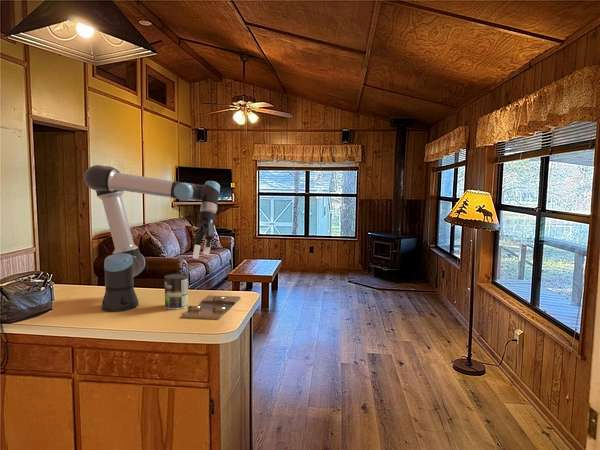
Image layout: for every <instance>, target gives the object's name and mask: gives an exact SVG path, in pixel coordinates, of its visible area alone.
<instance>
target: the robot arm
mask: <svg viewBox="0 0 600 450" xmlns="http://www.w3.org/2000/svg"><path fill="white" fill-rule="evenodd" d="M83 178H84V180H83V181H84V183H85V185H86V186H87V188H89V189H90V190H93V191H95V193H96V197H97V198H98V199H100V200H101V202H102V205H103V209H104V213H105V216H106V220H107V224H108V227H109V231H110V234H111V237H112V238H111V239H112V242H113V246H114V250H113V251H112V254H110V255H108V256H107V257H105V259H104V261H103V262H104V265H103V269H104V270H103V271H104V286H105V287H104V288H105V289H104V290H105V292H104V295H103V299H102V301H101V310H102V311H105V312H122V311H123V312H124V311H129V310H132V309H135V308H137V307H138V306H139V299H138V296H137V294H136V291H135V287H134V285H135V283H134V278H135V277H137V276H138V275H139V274H141V273H142V272H143V270H144V269H145V267H146V259H145V257H144V255H143V254H142V253H140V249H139V246H137V245H135V243H134V239H133V235H132V232H131V231H132V230H131V228H130V224H129V220H128V217H127V212H126V209H125V208H126V207H125V205H124V202H123V197H122V196H123V194H124V192H130V193H138V194H144V195H150V196H156V197H163V198H169V199H170V198H171V199H177V200H181V201H187V200H192V201H193V200H194V201H201V203H200V209H199V210H200V211H199V214H198V215H199V216H198V220H199V221H200V222H201V224H198V227H197V231H196V234H195V237H194V239H193V245H194V247H193V253H192V259H196V260H198V259H199V257H200V253H201V252H200V251H201V247H202V244H201V243H202V242H203V239H204V245H203V251H202V255H205V256H206V255H207V256H209V255H210V252H211V246H212V241H213V239H215V222H216V216H217V215H216V214H217V211H218V204H219V198H220V194H221V192H220V191H221V185H220V184H219V183H218V182H217V181H214V180H207V181H205V183H204V184H197V183H196V184H195V183H190V182H189V183H188V182H180V181H175V180H168V179H161V178H157V177H156V178H154V177H150V176H149V177H147V176H141V175H135V174H128V173H123V172H121V171H120V170H119V169H117V168H116V167H113V166H109V165H107V166H106V165H100V164H95V165H92V166H90V167H88V168H87V169H86V171H85V172H84V174H83ZM204 237H205V238H204Z"/></svg>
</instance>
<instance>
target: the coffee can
mask: <svg viewBox="0 0 600 450" xmlns="http://www.w3.org/2000/svg"><path fill="white" fill-rule="evenodd" d="M188 278H189V275H188V274H186V273H171V274H166V275H164V277H163V279H164V281H163V282H164V308H165V309H166V310H173V311H174V310H175V311H176V310H184V309H186V308H188V307H189V279H188Z"/></svg>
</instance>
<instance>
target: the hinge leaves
mask: <svg viewBox="0 0 600 450" xmlns="http://www.w3.org/2000/svg"><path fill="white" fill-rule="evenodd" d="M240 300H241V296H236V295H235V296H233V295H232V296H231V295H211V294H210V295H209V294H208V295H207V296H206V297H205V298H203V299H202V300H201V302H200V303H199V304H197V305H188V307H187V310H186V311H185V312H184V313H182V314H181V318H182V319H198V320H199V319H201V320H202V319H203V320H221V318H222V317H223V316H224V315H225V314H226V313H227V312H229V311H230V310H231V308H233V307H234V306H235V305H236V304H237V303H238V302H239V301H240ZM232 306H233V307H232Z"/></svg>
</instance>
